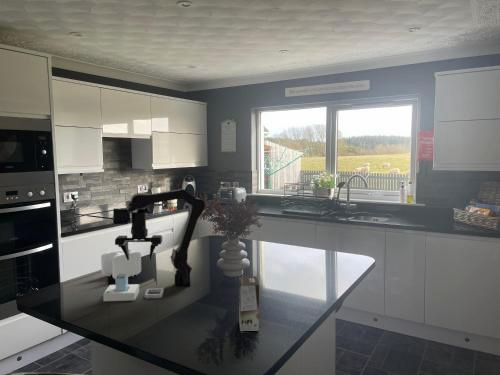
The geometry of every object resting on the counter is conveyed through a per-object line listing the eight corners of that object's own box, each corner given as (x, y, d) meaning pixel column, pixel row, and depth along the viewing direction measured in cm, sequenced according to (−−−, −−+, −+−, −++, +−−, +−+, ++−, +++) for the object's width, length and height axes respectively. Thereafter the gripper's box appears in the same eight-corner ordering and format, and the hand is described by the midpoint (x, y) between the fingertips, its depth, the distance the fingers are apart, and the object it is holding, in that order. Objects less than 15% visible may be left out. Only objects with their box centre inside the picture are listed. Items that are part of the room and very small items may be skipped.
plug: (128, 294, 160) (127, 273, 159) (126, 297, 156) (125, 276, 155) (118, 294, 159) (117, 273, 158) (115, 298, 155) (115, 276, 154)
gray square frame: (163, 291, 163) (163, 288, 162) (161, 297, 156) (161, 294, 156) (147, 292, 162) (147, 288, 162) (144, 298, 155) (144, 294, 155)
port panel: (139, 291, 163) (139, 283, 163) (134, 300, 153) (134, 292, 153) (110, 291, 162) (109, 284, 162) (103, 301, 152) (103, 292, 152)
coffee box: (259, 332, 128) (259, 285, 126) (240, 332, 127) (240, 285, 125) (256, 319, 137) (256, 275, 135) (238, 320, 136) (238, 276, 135)
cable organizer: (112, 282, 174) (112, 257, 172) (101, 277, 181) (100, 252, 179) (141, 274, 185) (141, 250, 184) (129, 269, 192) (129, 247, 191)
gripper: (163, 219, 171) (164, 254, 173) (120, 220, 169) (121, 255, 171) (160, 224, 160) (160, 261, 162) (114, 225, 158) (115, 262, 160)
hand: (139, 259), depth 164 cm, fingers open, 9 cm apart
